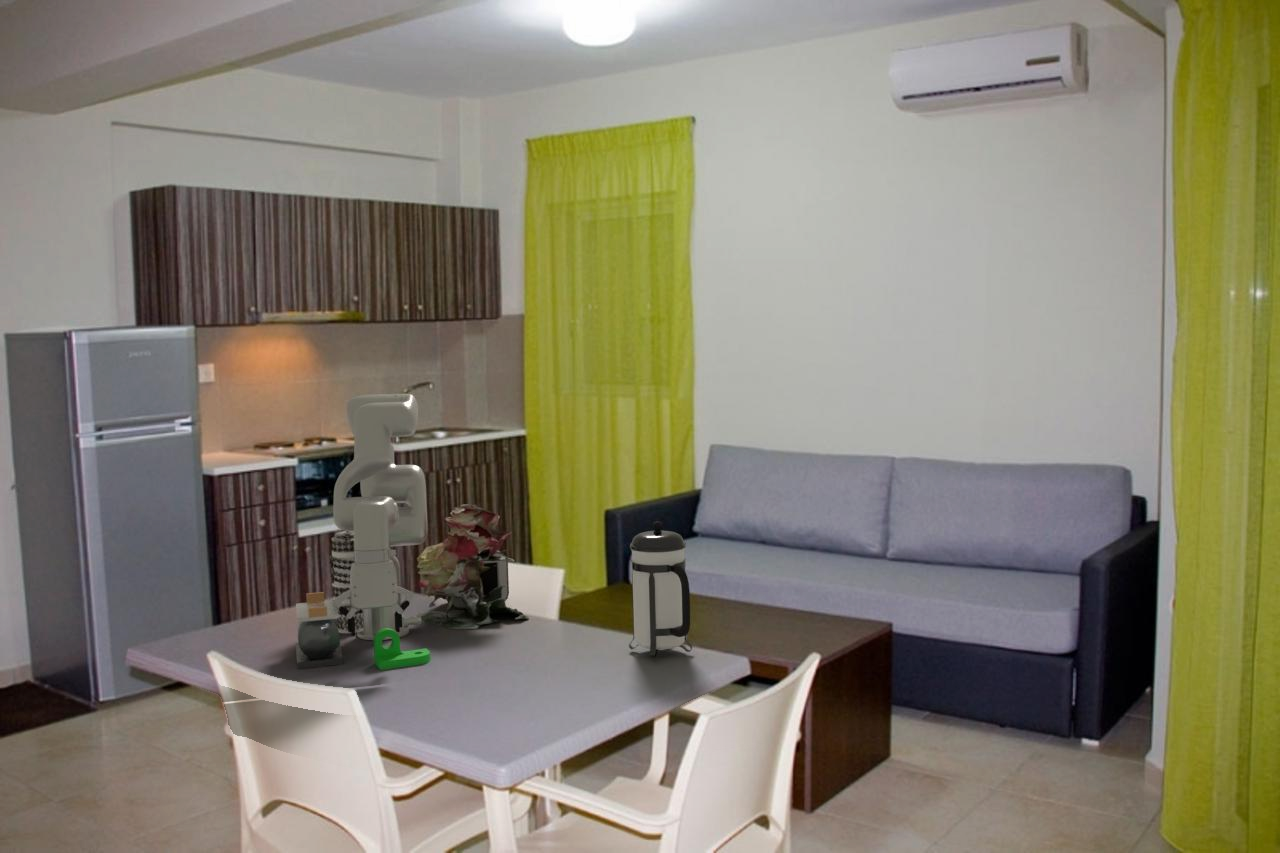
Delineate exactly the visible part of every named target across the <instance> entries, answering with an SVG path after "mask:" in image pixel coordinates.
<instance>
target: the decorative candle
mask: <svg viewBox="0 0 1280 853" xmlns="http://www.w3.org/2000/svg"><path fill="white" fill-rule="evenodd" d="M330 541H331V547H332V548H331V554H330V555H329V556H328V558H329V560H330V561H329V565H330V566H331V568H330V573H331V575H330V578H331V581H332V580H333V581H332V583H331V586H332V587H333V593H334V594H333V600H334V599H335V598H336V597H338V596H340V595H341V594H343V593H345V592H346V591H348V590H350V571H351V565H352V563H355V551H354V550H355V549H354V530H351V531H344V530H341V531H337V532H336V533H334V536H333V537H331V540H330ZM342 605H343V606H344V607H345V608H346V609H347V610H348V609H349V608H350V607H351V606H352V604H351V603H350V597H349V598H347V599H345V600H344V601H342ZM337 609H338V608H337ZM338 613H339V618H337V619H336V622H337V627H338V631H339V634H351V632H348V619H347V617H346V616H344V615H343V614H342V613H341V612H340V611H339V609H338ZM353 617H354V619H355V634H357V632H358V630H360V629H362V628H363V609H358V610H357V611H356V613H355V614H354V615H353Z"/></svg>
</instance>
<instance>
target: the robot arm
mask: <svg viewBox="0 0 1280 853" xmlns="http://www.w3.org/2000/svg"><path fill="white" fill-rule="evenodd" d="M346 416H347V421H348V424H349V428H350V430H351V432H352V435H353V437H354V438H353V439H354V445H353V447H354V449H353V452H354V453H353V460H351V462H349V463H348V464H347V465H346V466H345V467H344V469H342V470H341V472H340V474H339V475H338V478H337V480H336V482H335V484H334V488H333V489H334V490H333V508H332V509H333V510H332V511H333V512H332V514H333V522H334V525H335V526H336V527H337V529H339V530H341V531H354V549H355V550H354V551H355V563H352V565H351V571H350V590H348V591H346V592H345V593H343V594H341V595H340V596H338V597H336V598H335V599H334V598H333V600H334V603H335V605H336V606H337V608H338V609H339V611H340V612H341V613H342V614H343V615H344V616H346V617H347V619H348V632H351V633H350V634H351V637H355V636H356V635H357V638H359V639H361V640H364V641H374V637H375V635H376V633H377V632H378V631H379V630H381V629H383V628H390V629H393V630H394V631H395V632H396V633H397V634H398V636H399V638H402V637H405V636H406V635H408V634H409V633H410V628H409V626H419V625H422V623H421V622H422V621H421V617H416V616H415V615H413V616H406V615H405V614H404V612H405V611H406V609H407V608H408V607H409V606H410V604H411V601H412V599H413V597H414V594H415V593H414V592H413V591H411V590H409V589H406V588H403V587H402V586H401V585H402V584H401V565H400V562H399V560H398V558H397V550H396V549H391V547H402V546H403V547H405V546H416V545H417V546H418V545H421V544H423V543H425V541H426V540H427V536H428V528H429V527H428V525H429V524H428V508H427V506H428V505H427V488H426V487H427V486H426V485H427V484H426V478H425V477H426V476H425V473H424V471H423V470H422V468H421V466H419V465H415V464H395V447H394V445H393V443H392V442H391V439H392V438H401V437H402V438H403V437H411V436H413V435H415V433H416V431H417V427H418V419H419V406H418V400H417V398H415V396H414V395H413V394H410V393H395V394H394V393H390V394H389V393H386V394H385V393H384V394H364V395H363V394H362V395H358V396H357V395H356V396H355V397H352V398H350V399H349V400H348V401H347V402H346ZM358 483H360V484H359V485H360V486H359V487H360V493H361V494H360V495H361V496H354V497H353V496H352V497H347V496H348V492H349V491H350V490H351V488H353V487H354V486H355V485H356V484H358ZM398 504H407V506H406V507H405V506H404V507H403V506H402V507H401V506H399V505H398ZM402 595H403V596H405V599H404V600H403V602H402ZM349 597H350V603H351V604H352V606H351V607H350V608H349V609H348V610H347V609H346V608H345V607H344V606H343V605H342V601H344V600H345V599H347V598H349ZM358 609H363V628H362V629H360V630H358V632H356V633H355V619H354V617H353V615H354V614H355V613H356V611H357V610H358ZM386 640H388V641H389V640H392V638H391V637H386V638H384V639H383V640H382V641H386Z"/></svg>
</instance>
